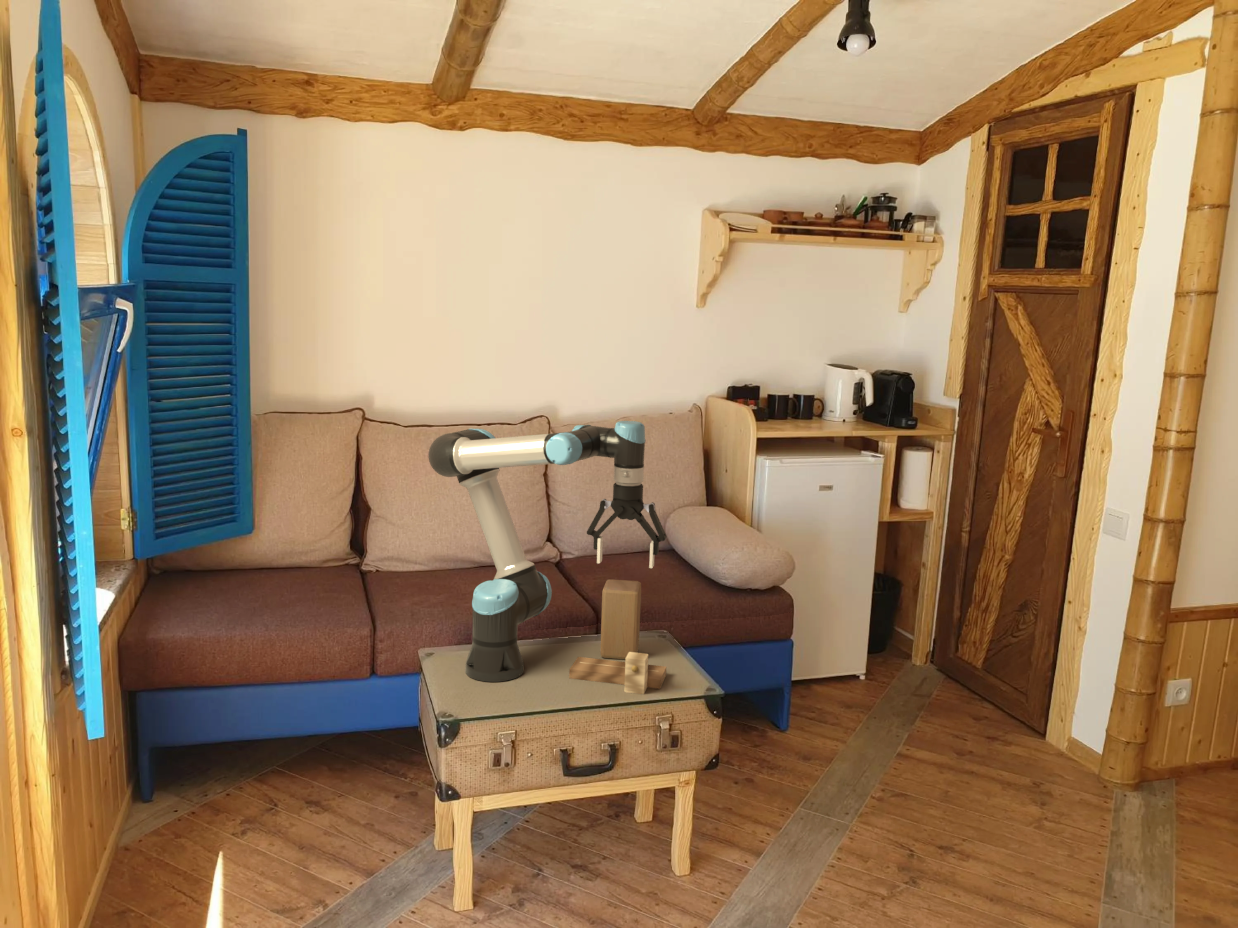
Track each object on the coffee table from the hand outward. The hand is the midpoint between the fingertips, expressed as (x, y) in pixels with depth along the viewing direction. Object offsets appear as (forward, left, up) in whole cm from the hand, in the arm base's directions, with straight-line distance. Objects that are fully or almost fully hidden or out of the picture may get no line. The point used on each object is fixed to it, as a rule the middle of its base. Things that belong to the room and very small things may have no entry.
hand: (625, 564), depth 251 cm
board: (-1, 0, -31) cm, 31 cm away
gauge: (+5, -2, -31) cm, 31 cm away
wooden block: (-4, +17, -31) cm, 35 cm away
